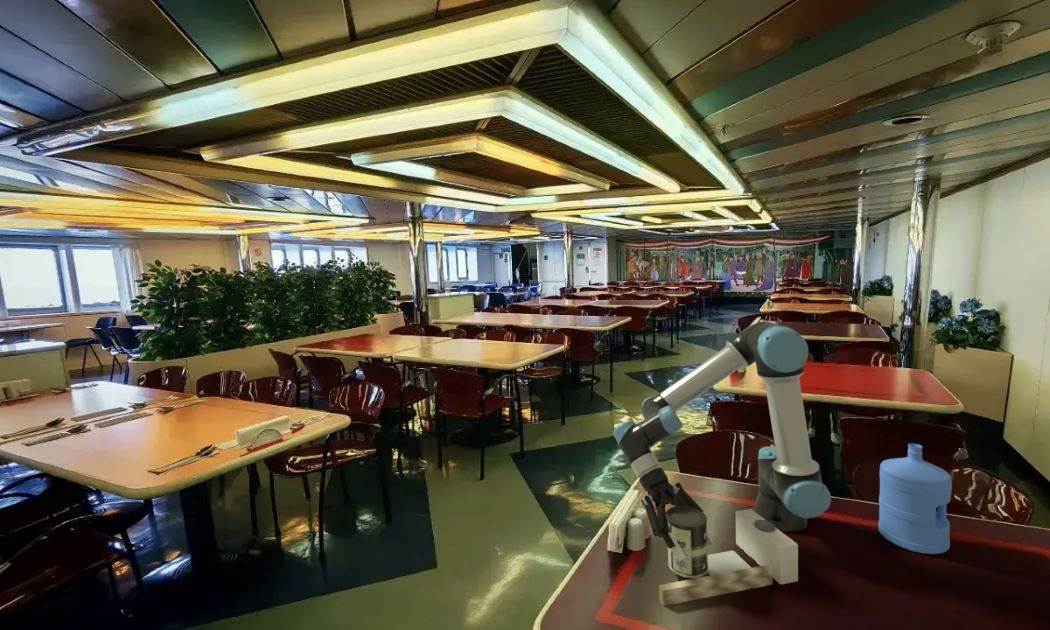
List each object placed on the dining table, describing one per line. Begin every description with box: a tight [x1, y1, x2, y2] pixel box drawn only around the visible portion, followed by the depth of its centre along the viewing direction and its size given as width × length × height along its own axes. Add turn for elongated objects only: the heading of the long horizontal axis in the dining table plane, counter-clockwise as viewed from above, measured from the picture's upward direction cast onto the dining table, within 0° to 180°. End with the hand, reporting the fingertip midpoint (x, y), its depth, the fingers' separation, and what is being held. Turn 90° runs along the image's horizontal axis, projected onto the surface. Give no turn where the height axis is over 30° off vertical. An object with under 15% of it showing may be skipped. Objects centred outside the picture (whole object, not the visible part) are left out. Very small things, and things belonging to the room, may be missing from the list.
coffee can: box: [666, 506, 709, 579], centre depth 120 cm, size 10×10×14 cm
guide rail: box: [658, 565, 773, 607], centre depth 114 cm, size 30×2×4 cm, turn 100°
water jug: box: [878, 442, 953, 555], centre depth 129 cm, size 16×16×28 cm
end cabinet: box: [707, 508, 799, 585], centre depth 123 cm, size 20×18×11 cm
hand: (696, 551), depth 118 cm, fingers closed on coffee can, 10 cm apart
